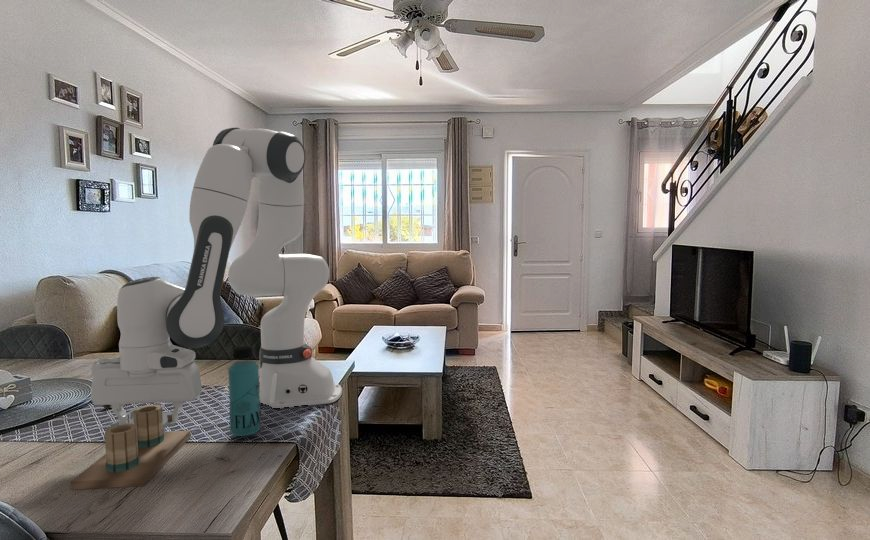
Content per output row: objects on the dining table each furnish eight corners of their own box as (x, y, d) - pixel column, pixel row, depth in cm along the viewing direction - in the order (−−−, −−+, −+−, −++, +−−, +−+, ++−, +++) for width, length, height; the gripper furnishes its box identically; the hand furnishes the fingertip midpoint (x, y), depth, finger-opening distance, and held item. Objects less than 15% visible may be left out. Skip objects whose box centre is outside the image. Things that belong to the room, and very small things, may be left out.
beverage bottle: (230, 445, 99) (227, 352, 97) (228, 433, 105) (225, 345, 103) (263, 439, 102) (260, 348, 100) (259, 428, 108) (256, 342, 106)
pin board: (190, 437, 103) (189, 412, 103) (143, 485, 83) (142, 455, 83) (132, 439, 102) (131, 415, 101) (71, 489, 82) (69, 459, 82)
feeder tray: (178, 415, 115) (178, 405, 115) (158, 433, 105) (158, 422, 105) (135, 417, 114) (134, 407, 114) (111, 435, 104) (110, 424, 104)
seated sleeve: (140, 456, 91) (138, 421, 90) (137, 468, 86) (135, 431, 86) (109, 462, 89) (107, 426, 88) (104, 474, 84) (102, 436, 84)
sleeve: (156, 446, 95) (154, 413, 94) (130, 448, 95) (128, 414, 94) (167, 436, 100) (166, 404, 99) (142, 437, 99) (141, 405, 99)
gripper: (81, 362, 92) (85, 431, 93) (190, 359, 94) (193, 426, 95) (100, 354, 98) (104, 418, 99) (203, 351, 100) (205, 414, 101)
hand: (149, 422), depth 97 cm, fingers open, 8 cm apart
